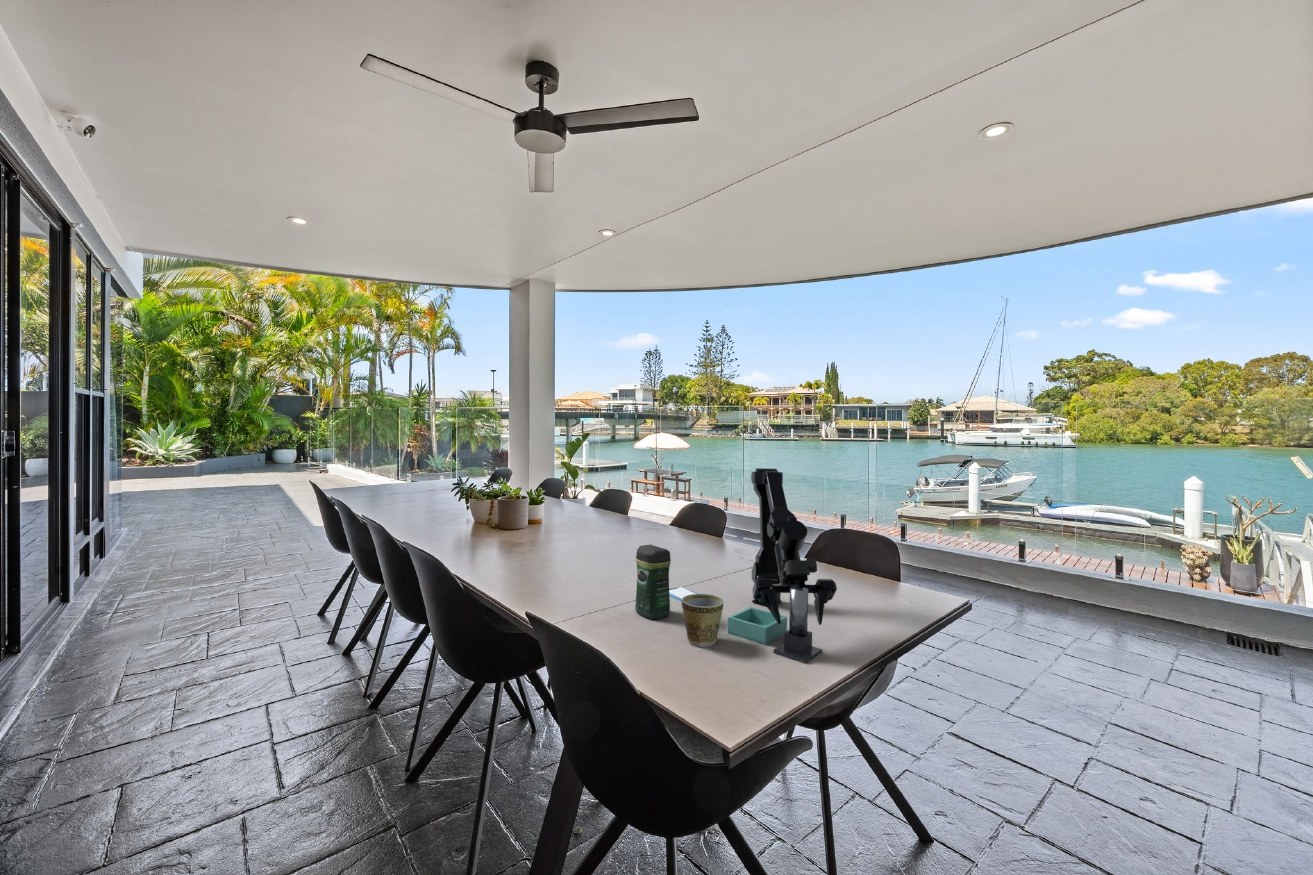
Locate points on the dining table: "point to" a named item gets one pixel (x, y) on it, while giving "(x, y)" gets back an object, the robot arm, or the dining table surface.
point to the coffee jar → (652, 581)
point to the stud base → (797, 657)
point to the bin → (756, 625)
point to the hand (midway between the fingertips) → (800, 623)
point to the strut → (798, 623)
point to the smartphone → (680, 592)
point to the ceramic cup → (702, 618)
